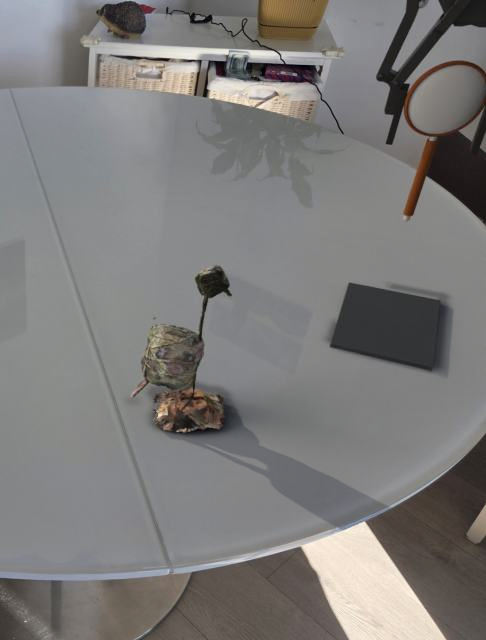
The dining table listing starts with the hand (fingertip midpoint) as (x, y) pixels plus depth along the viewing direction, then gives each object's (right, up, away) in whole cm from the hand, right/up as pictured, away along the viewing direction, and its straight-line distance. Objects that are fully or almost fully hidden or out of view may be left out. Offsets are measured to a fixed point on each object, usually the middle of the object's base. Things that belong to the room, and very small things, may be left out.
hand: (430, 144), depth 77 cm
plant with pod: (-31, -33, +1) cm, 45 cm away
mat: (0, -22, +10) cm, 24 cm away
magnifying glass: (+1, -8, +7) cm, 10 cm away
